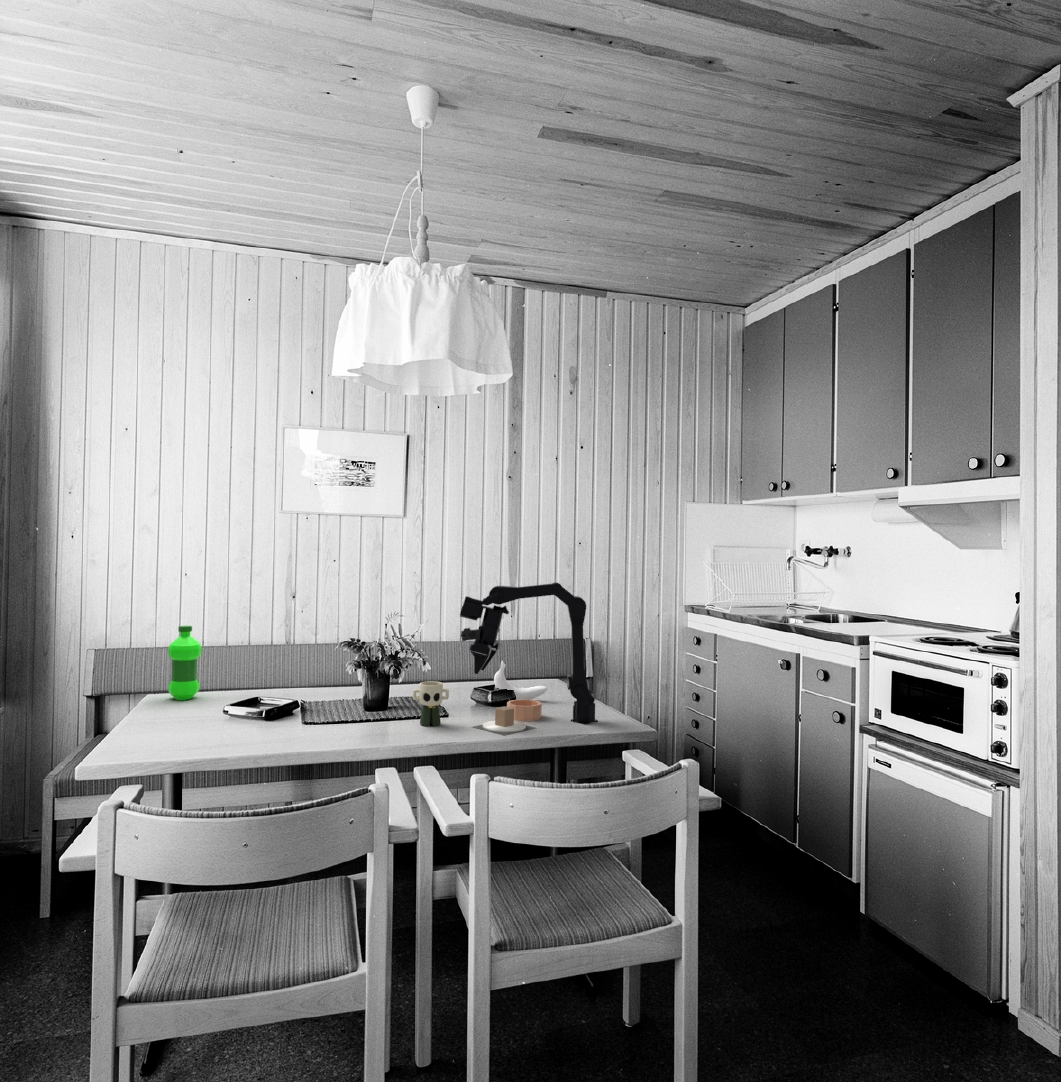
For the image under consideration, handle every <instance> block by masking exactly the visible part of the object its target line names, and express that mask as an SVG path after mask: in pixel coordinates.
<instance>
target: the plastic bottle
mask: <svg viewBox="0 0 1061 1082" xmlns="http://www.w3.org/2000/svg"><path fill="white" fill-rule="evenodd" d="M177 629H178V633H179V636H178V637H176V638H175V639H174V640H173V641H172V642H171V643H170V644H169V646H168V647H167V648H168V649H167V654H168V655H167V656H168V657H169V658H170V659H171V677H170V679H171V680H170V682H169V683H168V686H167V691H168V694H169V695H170V696H172V697H173V698H174V699H175V700H176V701H177V700H178V701H185V700H192V698H194V696H195V695H196V694H198V693H199V690H200V683H199V681H198V679H197V676H198V674H197V672H198V670H197V668H198V658H200V656H201V653H202V646H201V644H200V642H198V640H196V639H195V638H194V637H192V636H191V632H192V631H193V626H192V625H179V626H178V628H177Z"/></svg>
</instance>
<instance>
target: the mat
mask: <svg viewBox="0 0 1061 1082" xmlns="http://www.w3.org/2000/svg"><path fill="white" fill-rule="evenodd" d="M472 728H474V729H477V730H481V731H485V732H489V733H492V734H496V735H499V736H509V735H515V734H517V733H522V732H526V731H531V730H535V729H537V727H535V726H530V725H526V729H525V730H523V731H519V732H512V733H500V732H492V731H487V730H485V729H483V724H479V725H474V726H472Z"/></svg>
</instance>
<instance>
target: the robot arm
mask: <svg viewBox="0 0 1061 1082" xmlns="http://www.w3.org/2000/svg"><path fill="white" fill-rule="evenodd" d="M547 596H549V597H550V596H554V597H556V598H558V599H559V600H560V601H561V602H562V603H564V605H566V606H567V610H568V611H567V612H568V616H569V621H570V626H571V658H572V659H571V662H572V664H571V665H572V667H571V668H572V669H571V673H567V674H566V676H567V677H566V678H567V684H566V687H567V690H569V692H570V695H571V696H572V697H573V698H574V699H576V700H574V701H573V706H572V718H571V719H570V722H572V721H573V723H577V724H582V725H589V724H590V725H591V724H593V723H594V724H595V723H598V722H599V720H598V719H596V703H595V701H596V697H595V695H594V694H593V692H592V691H591V690H590V689H589V686H588V681H587V677H586V671H585V654H584V653H585V652H584V649H585V648H584V645H585V644H584V623H585V619H586V612H587V603H586V601H585V600H584V599H583V598H582V597H580V596H579V595H578V596H577V595H575V596H574V595H573V594H572V593H571V592H569V591H568V590H567V589H566V588H564V587H563V586H562V584H561V583H559V582H556V581H555V582H552V583H546V584H545V583H544V584H535V585H526V586H509V585H508V586H507V585H495V586H494V587H492V588H491V589H490V591H489V593H488V595H487V596H486V597H484V598H483V599H482V600H480V599H477V598H472V597H470V596H465V598H464V601H463V604H462V606H461V609H460V614H459V617H460V618H464V619H466V620H467V619H468V620H472V621H475V622H477V621H478V619H482V622H481V625H479V626H478V628H477V629H471V628H470V627H467V628H463V630H461V632H460V637H461V641H462V642H466V641H472V640H473V642H472V643H470V646H469V651H470V653H471V654H472V656H473V659H474V665H473V672H474V673H473V674H475V675H479V673H480V672H481V671H484V670H485V669H486V668H487V666H488V665H489V664H490V662H491V661H492V659H494V657H495V656H496V654H497V652H498V651H499V650H500V646H501V643H500V641H499V640H498V639H497V638H498V635H499V633H500V632H501V631H500V630H501V629H500V626H501V622H502V619H503V614H506V615H509V614H510V611H509V609H508V608H507V605H504V606H499V605H503V604H507V603H511V602H512V601H516V600H518V599H521V600H522V599H529V598H539V597H540V598H541V597H547ZM493 604H494V605H493ZM490 605H493V606H492V607H491V606H490ZM484 609H485V611H484ZM483 613H484V615H483ZM482 616H483V617H482ZM474 640H475V641H474Z"/></svg>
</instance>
